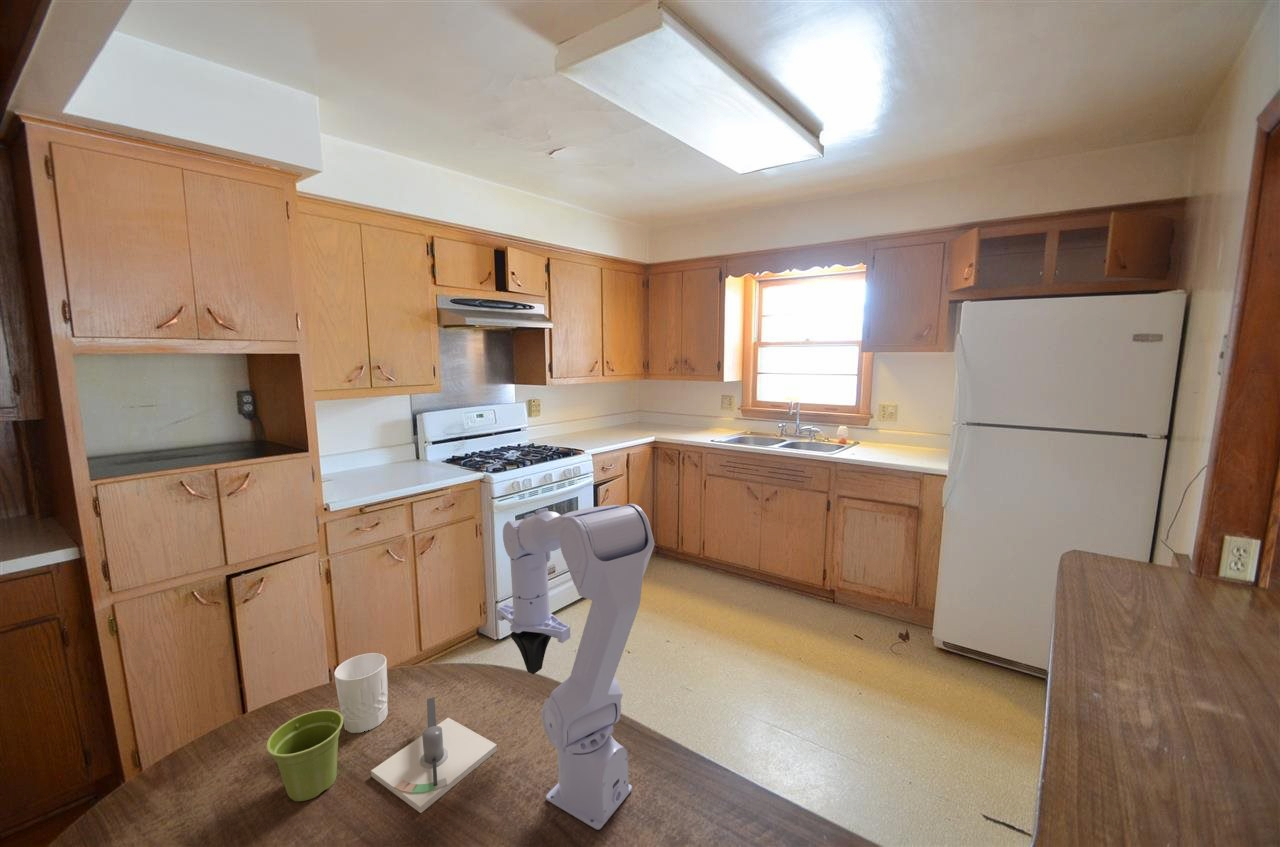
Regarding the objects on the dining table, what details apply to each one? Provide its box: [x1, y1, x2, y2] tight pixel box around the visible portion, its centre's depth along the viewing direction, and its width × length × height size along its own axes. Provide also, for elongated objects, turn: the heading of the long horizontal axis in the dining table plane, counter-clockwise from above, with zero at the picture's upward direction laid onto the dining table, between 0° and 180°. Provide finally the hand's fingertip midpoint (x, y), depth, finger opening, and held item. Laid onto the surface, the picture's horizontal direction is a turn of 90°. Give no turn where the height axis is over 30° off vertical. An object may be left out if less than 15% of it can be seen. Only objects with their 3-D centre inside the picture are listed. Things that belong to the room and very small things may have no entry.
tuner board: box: [370, 717, 498, 814], centre depth 80 cm, size 12×14×1 cm
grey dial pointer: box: [421, 697, 444, 786], centre depth 81 cm, size 16×3×4 cm, turn 23°
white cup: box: [333, 652, 389, 734], centre depth 90 cm, size 8×8×10 cm
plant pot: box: [266, 709, 344, 802], centre depth 76 cm, size 9×9×9 cm
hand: (534, 670), depth 86 cm, fingers closed
